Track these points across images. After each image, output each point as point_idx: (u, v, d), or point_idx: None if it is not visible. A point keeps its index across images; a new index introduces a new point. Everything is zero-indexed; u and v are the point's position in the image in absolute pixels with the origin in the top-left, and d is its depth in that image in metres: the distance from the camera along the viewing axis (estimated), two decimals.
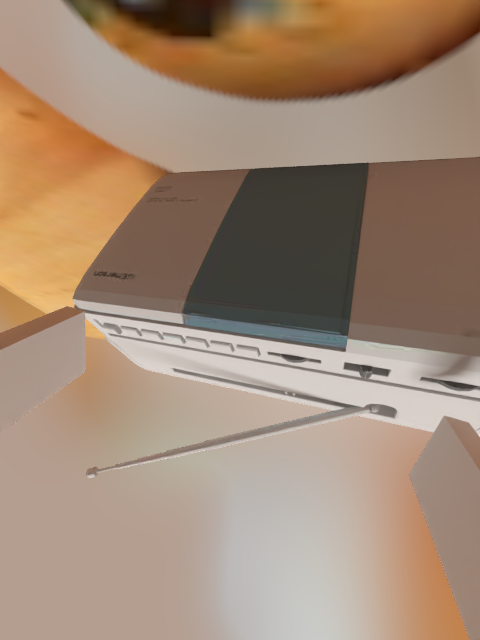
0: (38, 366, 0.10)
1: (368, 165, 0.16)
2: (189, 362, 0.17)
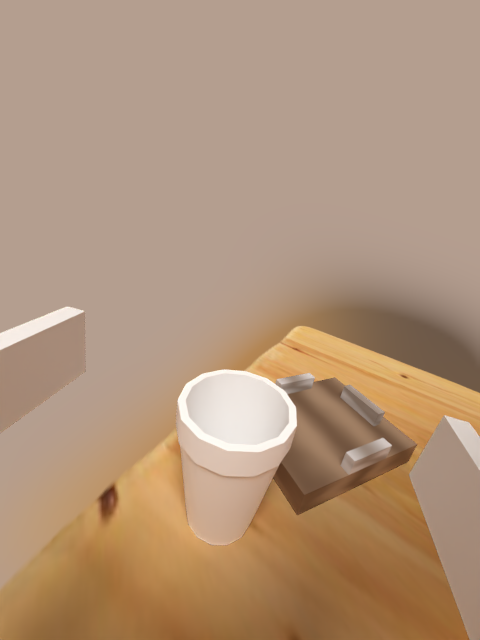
0: (38, 366, 0.10)
1: None
2: None
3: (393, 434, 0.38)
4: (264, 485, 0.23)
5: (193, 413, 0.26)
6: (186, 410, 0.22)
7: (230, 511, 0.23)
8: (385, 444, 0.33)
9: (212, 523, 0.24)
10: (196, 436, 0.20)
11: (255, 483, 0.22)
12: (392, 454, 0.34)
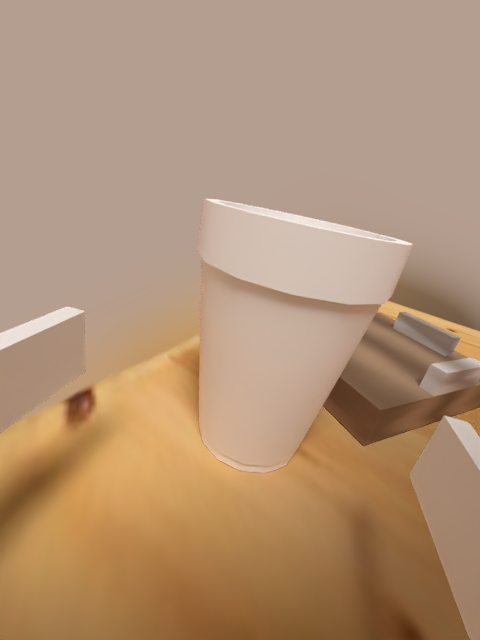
0: (38, 366, 0.10)
1: None
2: None
3: None
4: (348, 352, 0.13)
5: None
6: (221, 203, 0.12)
7: (285, 397, 0.13)
8: (478, 363, 0.23)
9: (249, 424, 0.14)
10: (246, 213, 0.10)
11: (340, 335, 0.12)
12: None
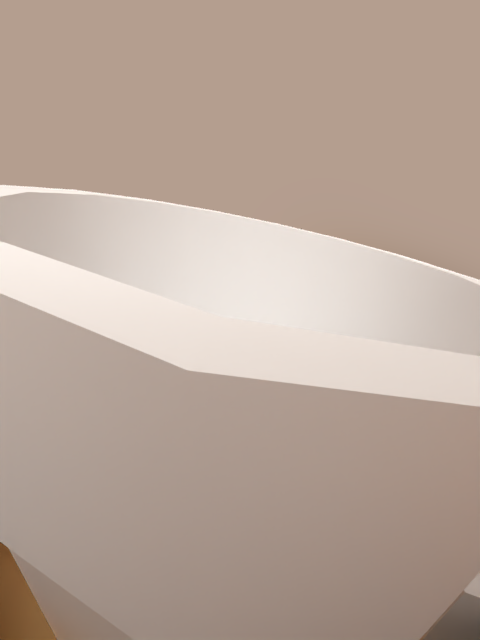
0: None
1: None
2: None
3: None
4: None
5: None
6: None
7: None
8: None
9: None
10: None
11: None
12: None
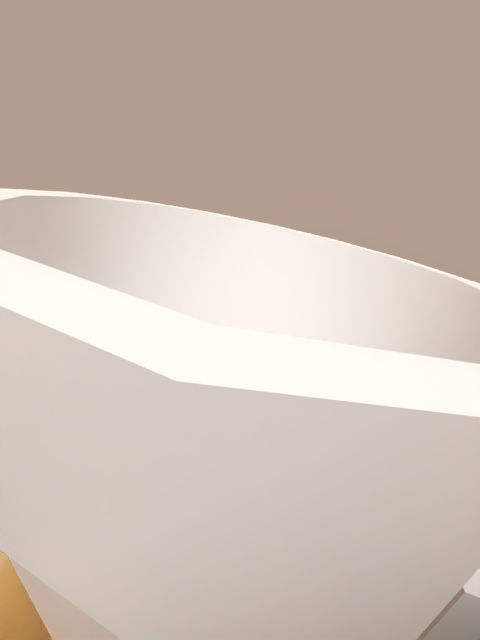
0: None
1: None
2: None
3: None
4: None
5: None
6: None
7: None
8: None
9: None
10: None
11: None
12: None
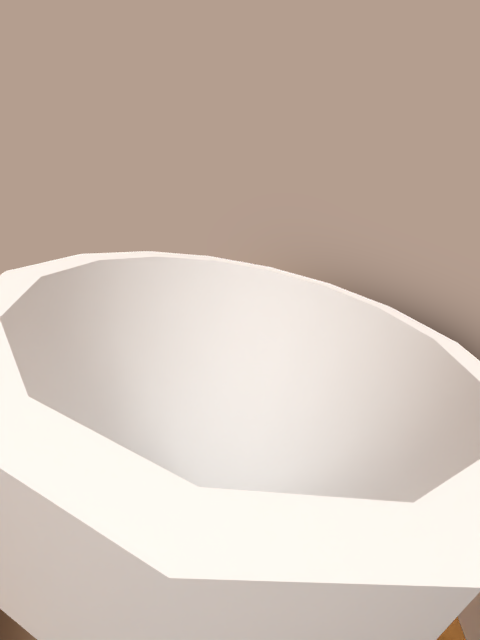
0: None
1: None
2: None
3: None
4: None
5: (109, 361, 0.08)
6: (11, 297, 0.04)
7: None
8: None
9: None
10: None
11: None
12: None
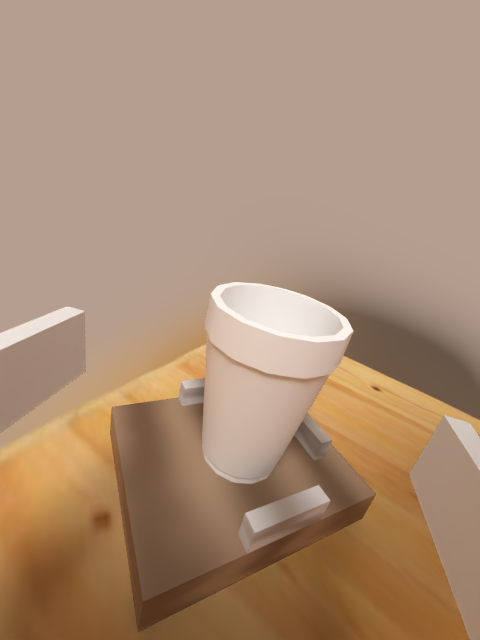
0: (38, 366, 0.10)
1: None
2: None
3: (342, 474, 0.25)
4: (308, 402, 0.19)
5: None
6: (222, 301, 0.18)
7: (264, 433, 0.19)
8: (319, 497, 0.20)
9: (239, 450, 0.20)
10: (238, 321, 0.16)
11: (301, 394, 0.18)
12: (333, 512, 0.21)
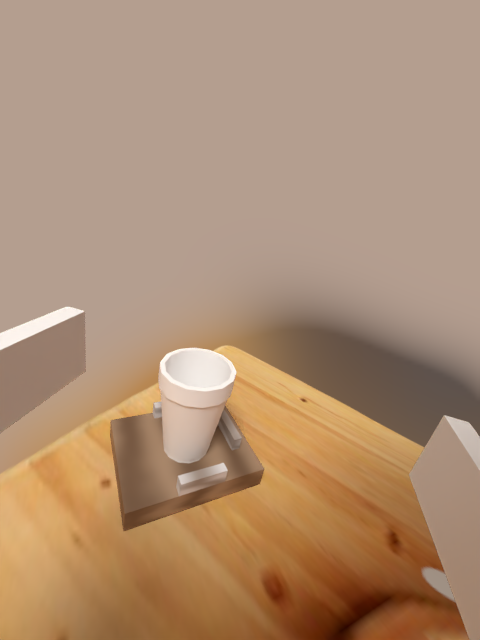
0: (38, 366, 0.10)
1: None
2: None
3: (246, 458, 0.42)
4: (212, 418, 0.36)
5: (170, 374, 0.39)
6: (164, 368, 0.35)
7: (190, 434, 0.36)
8: (221, 469, 0.37)
9: (178, 444, 0.37)
10: (169, 381, 0.33)
11: (205, 414, 0.35)
12: (233, 477, 0.38)
